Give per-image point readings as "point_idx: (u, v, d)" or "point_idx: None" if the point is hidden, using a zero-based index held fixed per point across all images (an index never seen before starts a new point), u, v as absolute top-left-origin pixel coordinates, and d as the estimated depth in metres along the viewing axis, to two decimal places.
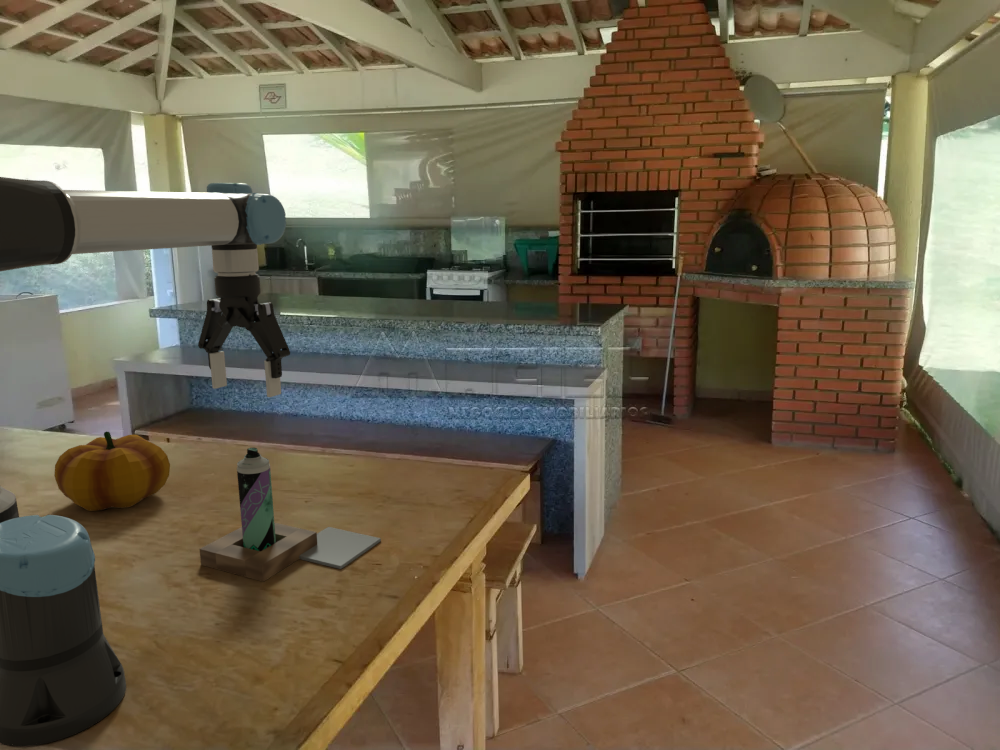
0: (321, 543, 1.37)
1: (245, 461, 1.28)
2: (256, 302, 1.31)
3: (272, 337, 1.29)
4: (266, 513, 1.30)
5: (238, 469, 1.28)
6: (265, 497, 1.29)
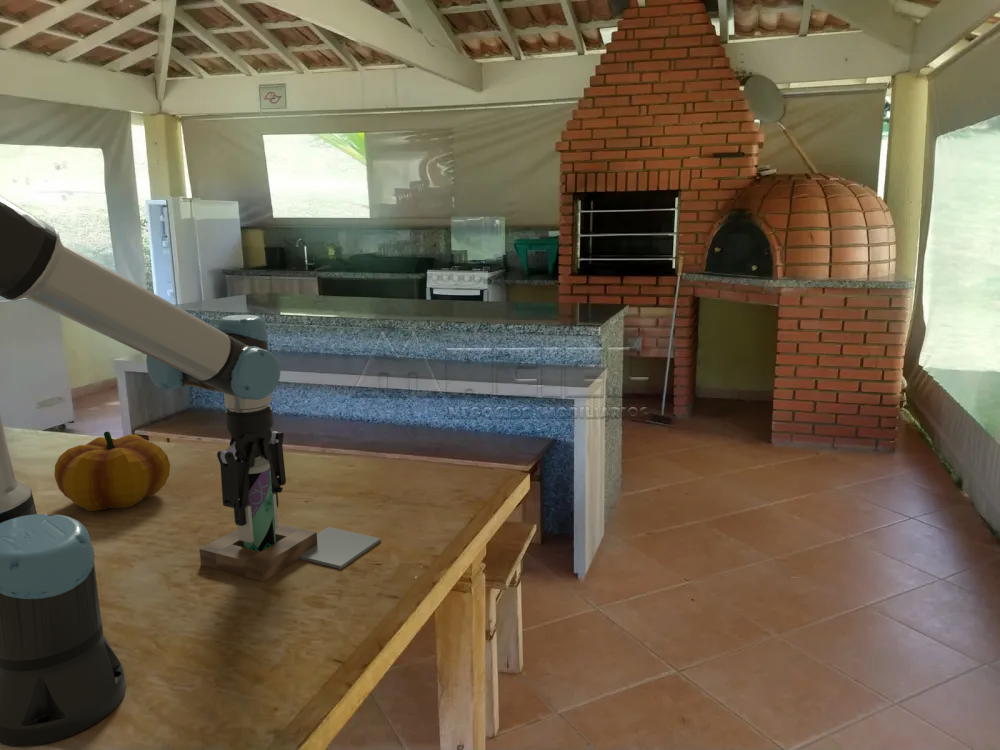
0: (321, 543, 1.37)
1: (245, 461, 1.28)
2: (235, 443, 1.24)
3: (222, 486, 1.25)
4: (266, 513, 1.30)
5: None
6: (265, 497, 1.29)
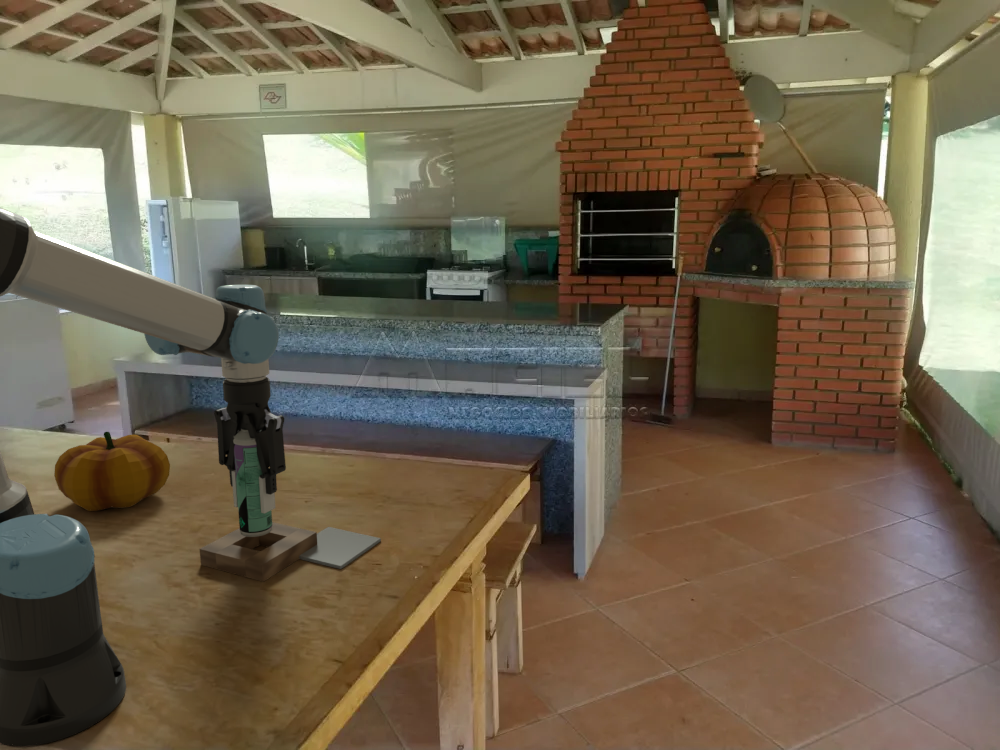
0: (321, 543, 1.37)
1: None
2: None
3: None
4: (239, 487, 1.28)
5: None
6: (238, 471, 1.27)
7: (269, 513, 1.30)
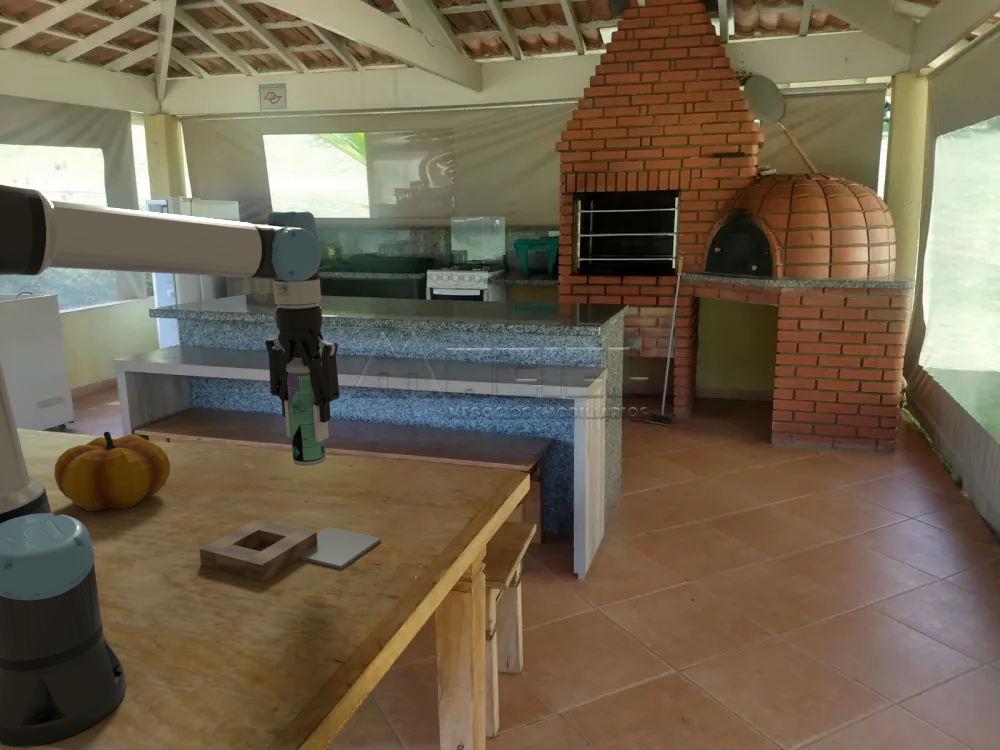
0: (321, 543, 1.37)
1: None
2: None
3: None
4: (293, 415, 1.28)
5: None
6: (292, 399, 1.27)
7: (322, 442, 1.31)
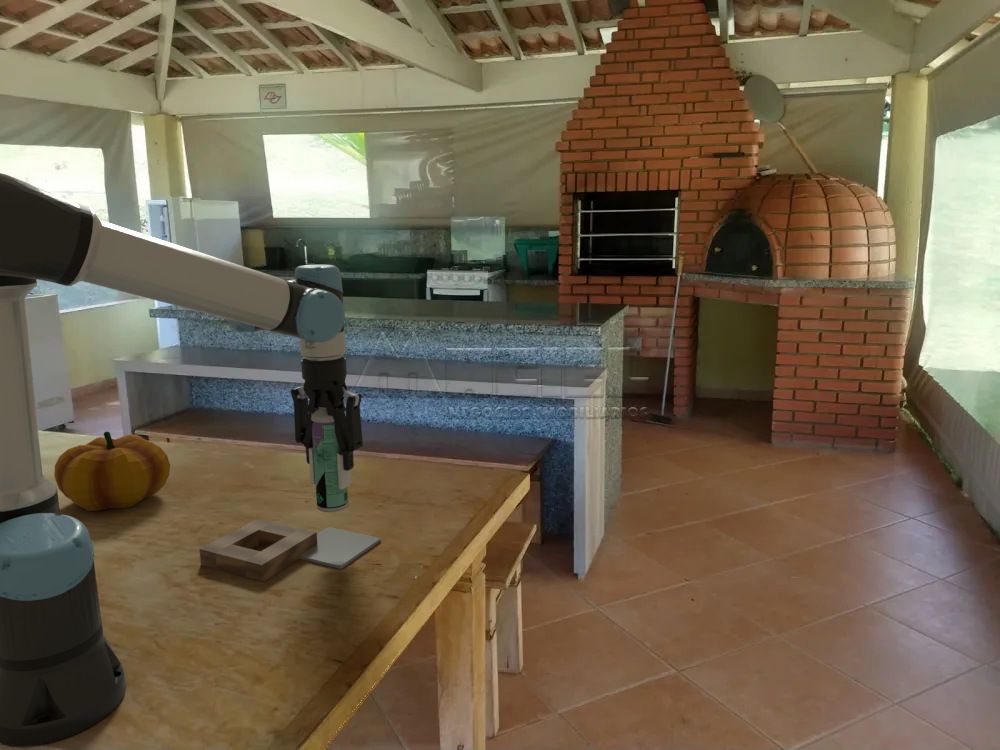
0: (321, 543, 1.37)
1: None
2: None
3: None
4: (317, 463, 1.30)
5: None
6: (316, 448, 1.30)
7: (346, 489, 1.33)
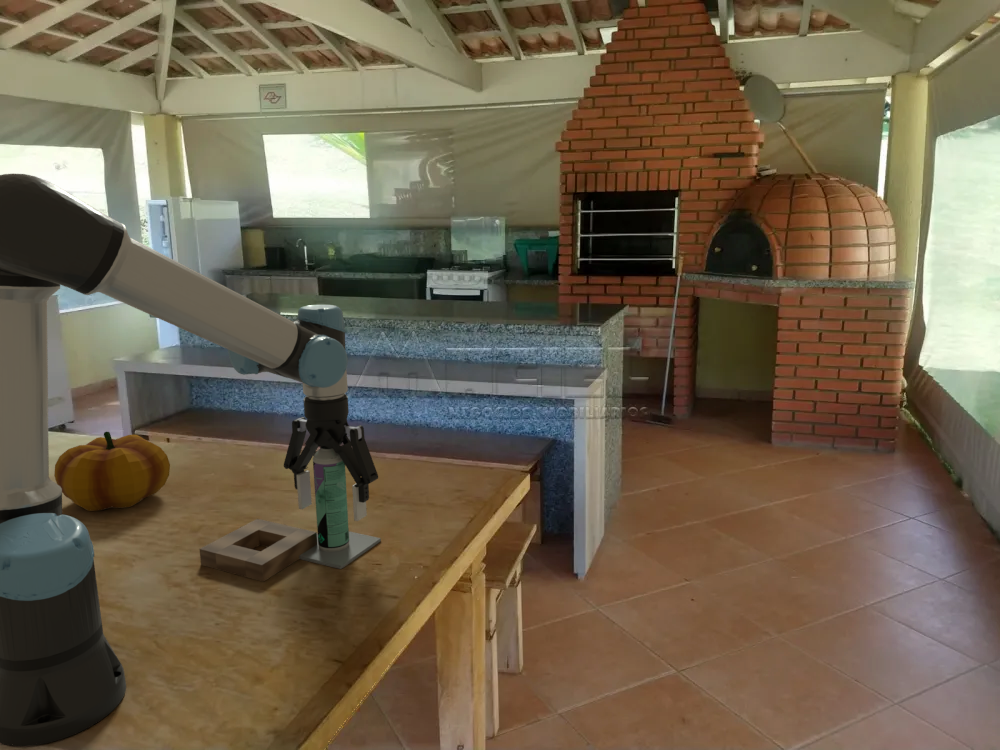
0: None
1: (321, 448, 1.33)
2: (308, 420, 1.32)
3: None
4: (318, 504, 1.32)
5: None
6: (318, 489, 1.31)
7: (347, 528, 1.35)
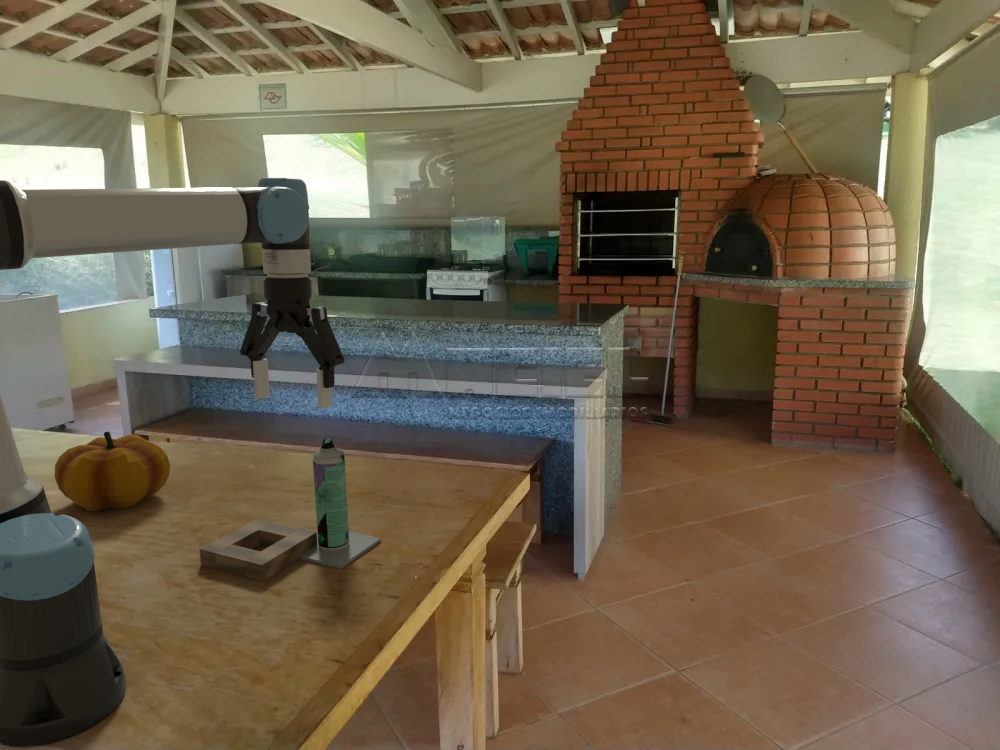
0: None
1: (321, 448, 1.33)
2: None
3: None
4: (318, 504, 1.32)
5: None
6: (318, 488, 1.31)
7: (347, 528, 1.35)
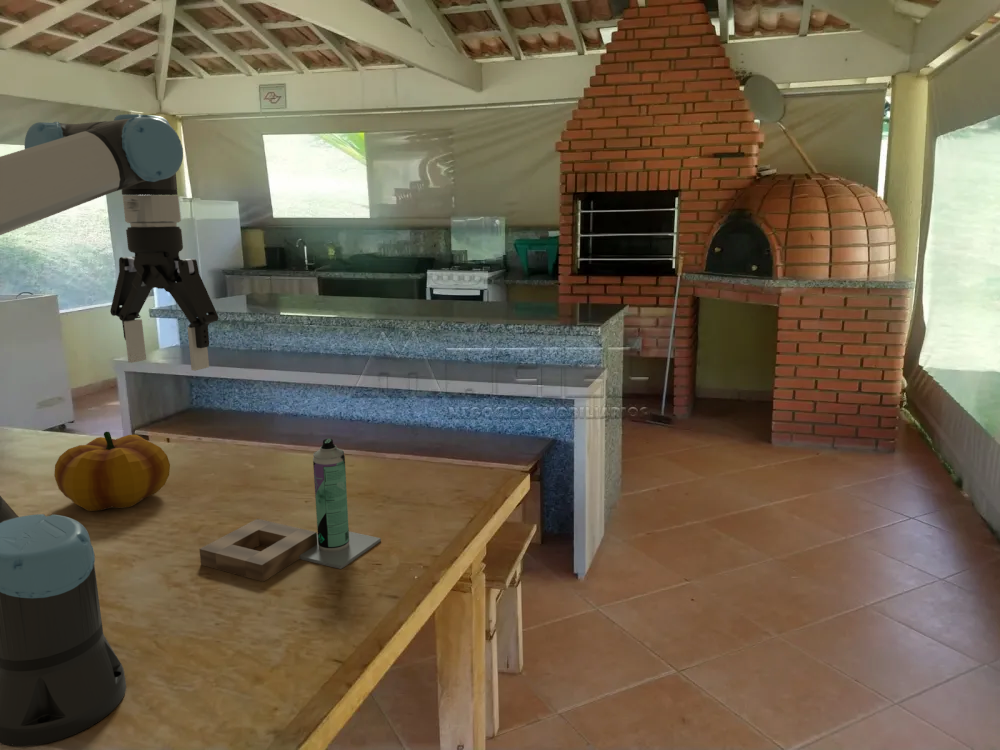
0: None
1: None
2: None
3: None
4: (319, 504, 1.32)
5: None
6: (318, 489, 1.31)
7: (347, 528, 1.35)
